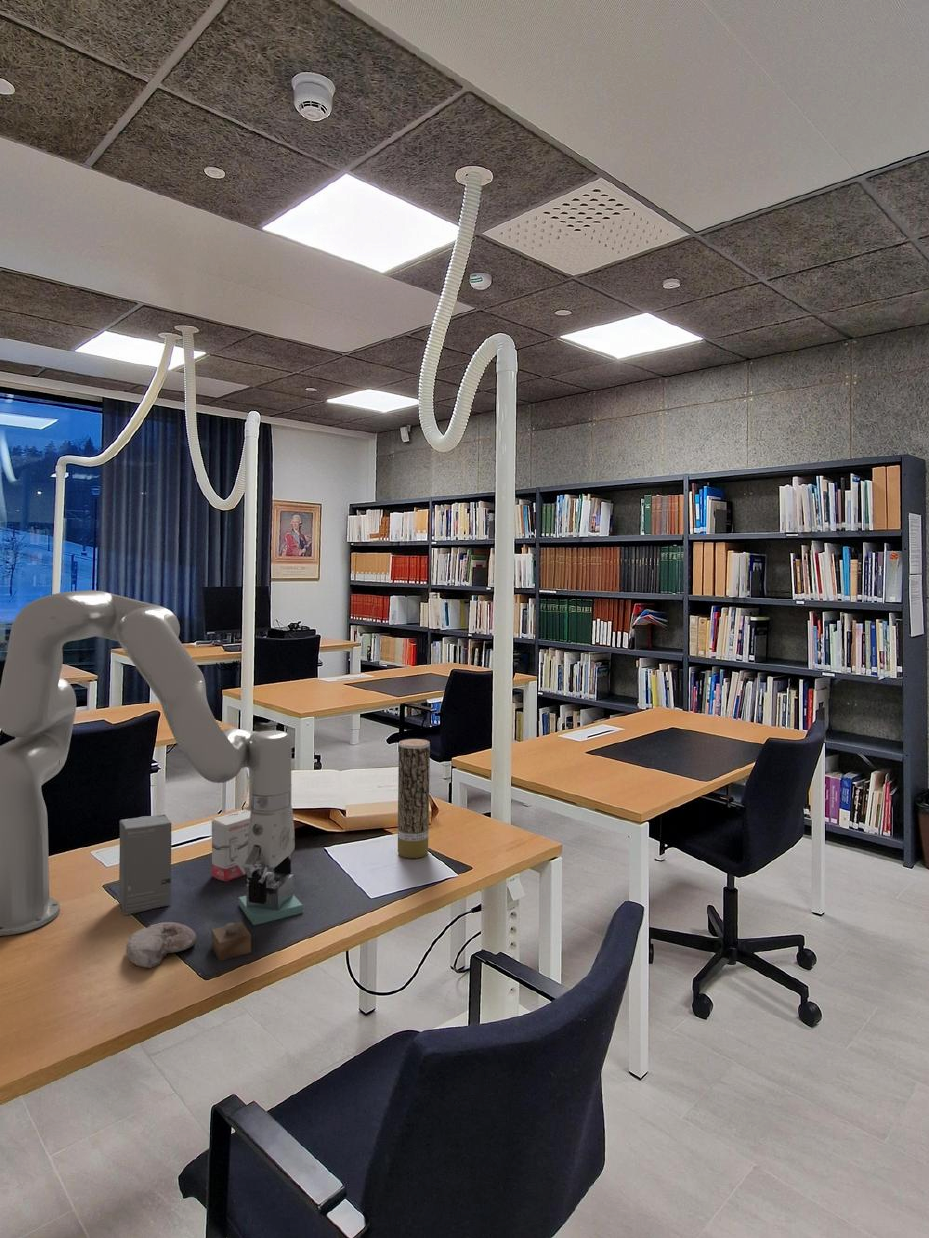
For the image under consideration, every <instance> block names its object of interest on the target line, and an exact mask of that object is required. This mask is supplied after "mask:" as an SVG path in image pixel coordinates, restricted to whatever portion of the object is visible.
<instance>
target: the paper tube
mask: <svg viewBox="0 0 929 1238" xmlns="http://www.w3.org/2000/svg"><path fill="white" fill-rule="evenodd" d="M430 743H431V742H430V741H429V740H427V739H423V738H421V739H420V738H408V739H402V740H400V741H399V742H398V768H397V769H398V770H397V771H398V772H397V773H398V775H397V776H398V779H397V782H398V783H397V784H398V785H397V790H398V791H397V793H398V794H397V853H398V855H399V856H400V857H402V858H405V859H410V858H415V859H420V857H421V858H423V857H425V856H426V855H427V854H428V852H429V833H430V831H429V828H430V827H429V826H430V825H429V824H430V821H429V820H430V816H429V815H430V771H431V770H430V766H431V765H430V760H431V759H430V758H431V744H430Z"/></svg>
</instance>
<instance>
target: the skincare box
mask: <svg viewBox="0 0 929 1238" xmlns="http://www.w3.org/2000/svg"><path fill="white" fill-rule="evenodd" d="M118 864H119V865H118V867H119V869H118V870H119V871H118V873H119V874H118V876H119V877H118V902H119V904H120V907H121V910H122V912H123V914H124V916H129V915H132V914H136V913H141V912H145V911H146V912H147V911H151V910H154V909H158V908H162V907H168V906H171V902H172V901H171V900H172V899H171V898H172V895H171V894H172V893H171V889H172V821H171V820H170V818H169V817H168V816H167V815H166V814H157V815H149V816H147V815H144V816H139V817H132V818H125V819H124V818H123V819H120V820H119V863H118Z"/></svg>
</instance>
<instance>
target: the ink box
mask: <svg viewBox="0 0 929 1238" xmlns="http://www.w3.org/2000/svg"><path fill="white" fill-rule="evenodd" d="M250 813H251V811H250V810H249V809H248V810H247V809H241V810H239V811H238V810H237V811H234V812H232V813H231V812H230V813H228V814H225V815H222V816H221V815H220V816H218V817H215V818H213V820H211V876H212V877H213V878H215V879H217V880H219V881H222V882H224V883H225V882H230V881H232V880H235V879H237V878H239V877H242V876H246V874H245V870H244V864H245V862H246V860H247V858H248V831H249V821H250ZM260 862H261V861H260ZM260 862H258V863H260ZM258 870H260V868H256V870H255V871H258Z"/></svg>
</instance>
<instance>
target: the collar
mask: <svg viewBox="0 0 929 1238" xmlns="http://www.w3.org/2000/svg"><path fill="white" fill-rule="evenodd" d="M269 873H273V874H274V881H276V883H275V884H266V903H265V904H259V903H251V902H249V888H248V883H247V884H246V885H245V886H246V888H245V890H246V891H245V892H246V893H245V894H246V895H245V896H246V907H253V908H261V909H269V910H276V911H278V910H279V909H280V908H281V907H282V906H283V905H284V904H285V903H286V902H287V901H288V900H289V899H290V898H291V897H292V896H293V895H294V874H292V873H291V874H283V873H274V871H267V872H266V876H265V879H264V881H267V874H269Z"/></svg>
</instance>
